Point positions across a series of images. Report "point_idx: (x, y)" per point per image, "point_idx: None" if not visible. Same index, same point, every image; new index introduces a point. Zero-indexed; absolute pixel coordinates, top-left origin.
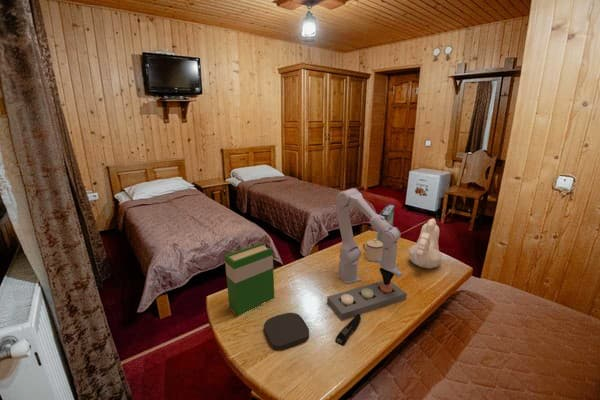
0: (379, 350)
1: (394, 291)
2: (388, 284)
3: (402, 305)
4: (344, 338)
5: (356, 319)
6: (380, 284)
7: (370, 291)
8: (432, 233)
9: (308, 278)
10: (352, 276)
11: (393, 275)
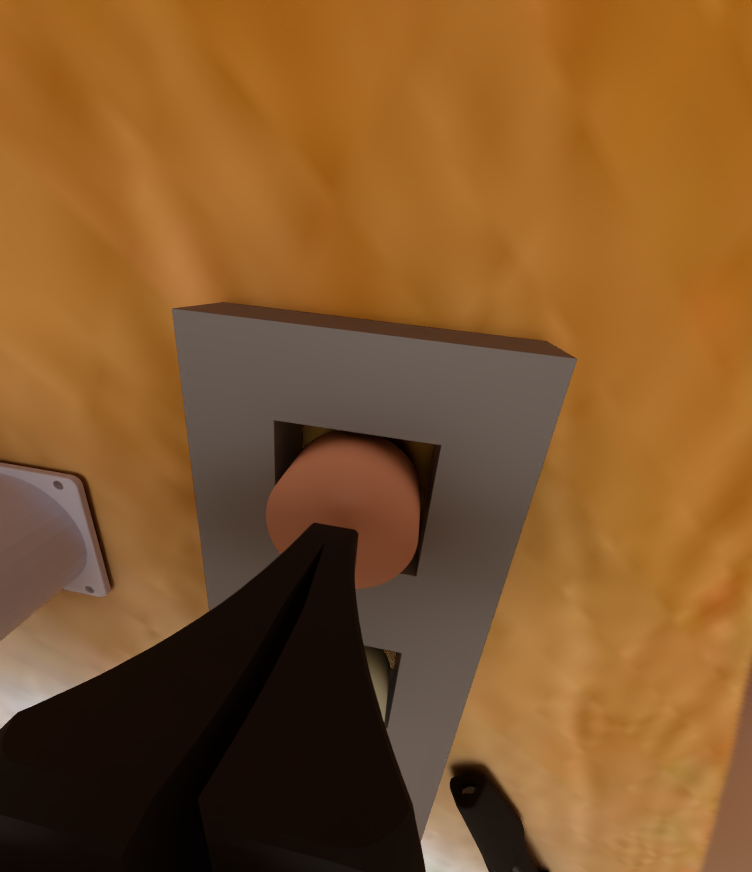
0: (707, 836)
1: (438, 462)
2: (356, 548)
3: (580, 459)
4: None
5: (492, 835)
6: (244, 482)
7: None
8: None
9: (7, 695)
10: (40, 590)
11: (376, 710)
